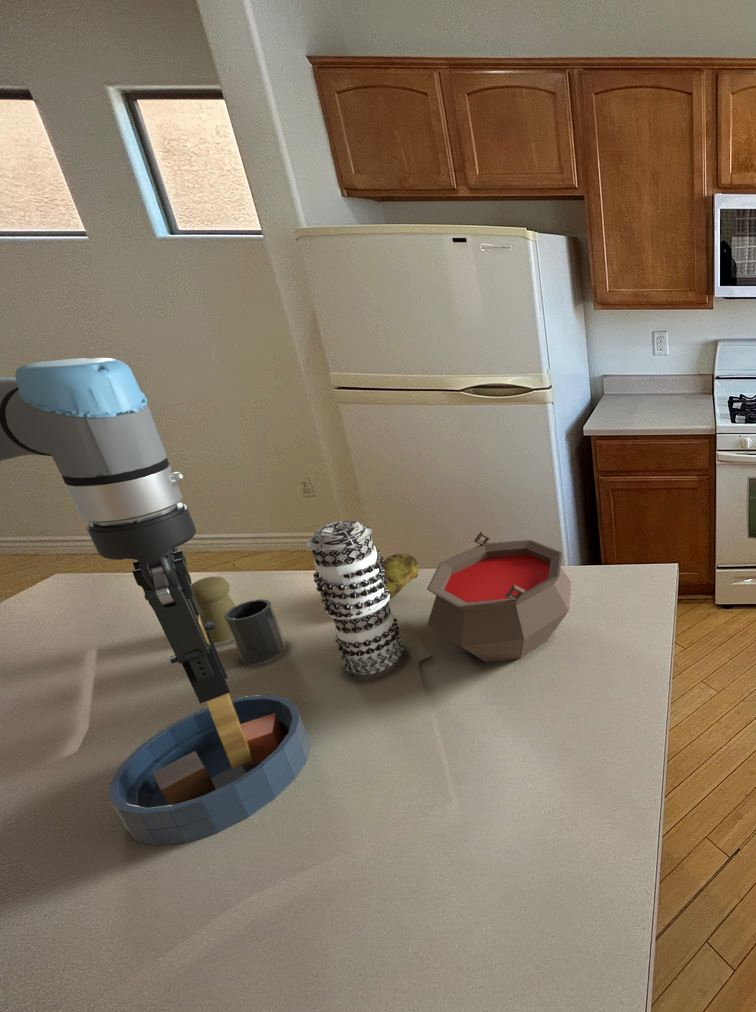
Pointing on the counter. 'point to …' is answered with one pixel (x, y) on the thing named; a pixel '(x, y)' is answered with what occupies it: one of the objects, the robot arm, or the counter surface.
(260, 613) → the cup
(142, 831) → the bowl
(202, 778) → the walnut block
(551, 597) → the brown cooking pot
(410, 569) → the yellow green pear
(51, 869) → the counter surface
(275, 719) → the terracotta block
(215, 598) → the cork
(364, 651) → the decorative candle
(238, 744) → the stirring stick
